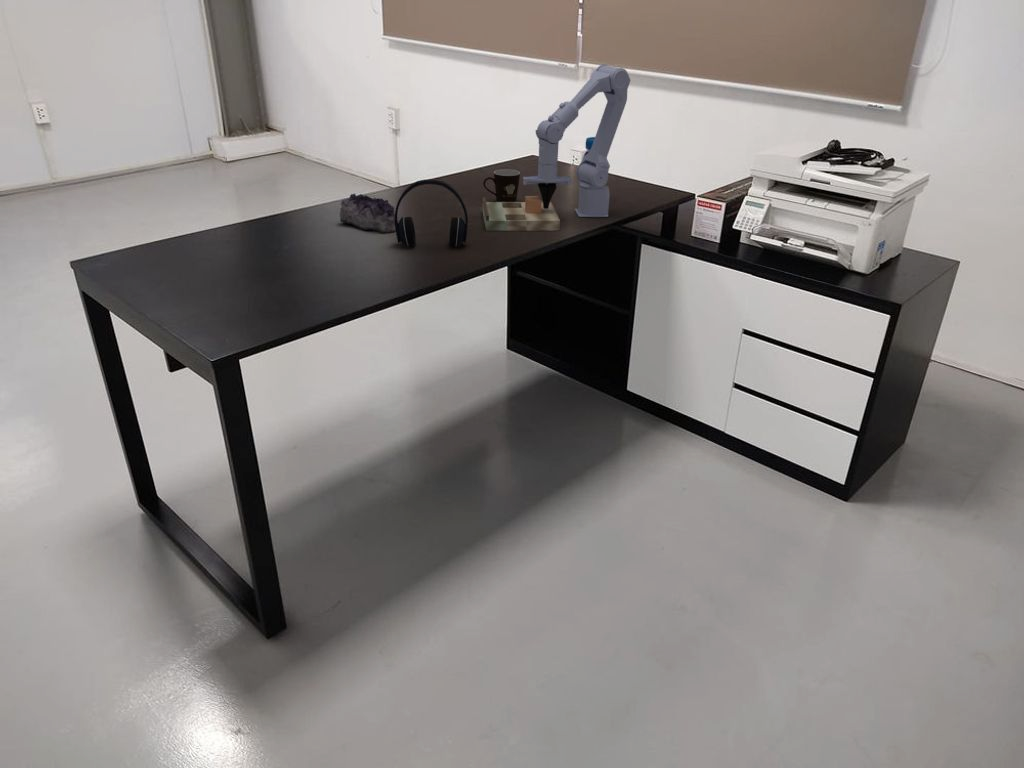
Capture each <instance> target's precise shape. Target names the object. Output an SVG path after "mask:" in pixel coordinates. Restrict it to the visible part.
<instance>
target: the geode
mask: <svg viewBox="0 0 1024 768" xmlns="http://www.w3.org/2000/svg"><path fill="white" fill-rule="evenodd" d="M340 206H341V207H340V208H339V209H340V211H339V219H340V222H341V223H344V224H349V225H353V226H354V227H357V228H358V229H361V230H362V231H378V232H380V233H381V234H383V235H386V234H393V233H396V230H395V207H394V206H392V205H391V203H389V200H388V199H385V200H384V199H383V198H381V197H380V198H376V197H373V198H372V197H370V196H368V195H366V194H365V195H364V194H362V193H360V194H358V195H356V193H351V194H350V196H349V198H344V199H343V200H341V202H340Z"/></svg>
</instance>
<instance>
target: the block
mask: <svg viewBox="0 0 1024 768" xmlns="http://www.w3.org/2000/svg"><path fill="white" fill-rule="evenodd" d="M524 197H525V199H524V200H525V201H524V202H525V210H526V213H541V205H542V202H543V200H542V197H541V196H540V195H531V196H530V195H527V196H526V195H525V196H524Z"/></svg>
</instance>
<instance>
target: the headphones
mask: <svg viewBox="0 0 1024 768" xmlns="http://www.w3.org/2000/svg"><path fill="white" fill-rule="evenodd" d="M423 185H436V186H440V187H443V188H445V189H447V190H448V191H450V192H451V193H452V194H453V195H454V196H455V197H456V198H457V199H458V201H459V203H460V204H461V207H462V209H463V212H464V213H463V214H464V218H462V217H458V216H457V217H455V216H454V217H453V216H452V217H451V218H450V227H449V228H450V229H449V237H448V242H449V243H448V245H449V246H451V247H456V248H457V247H459V248H460V247H461V245H462V244H463V243H467V235H468V224H469V219H468V218H469V217H468V212H467V211H468V210H467V208H466V205H465V203H464V200H463V199H462V197H461V195H460V194H459V192H458V191H457V190H456V189H455V188H454V187H453V186H451V184H449V183H447V182H445V181H443V180H439V179H431V178H430V179H429V178H428V179H421V180H416V181H415V182H413V183H411V184H410V185H409V186H407V187H406V189H404V191H402V193H401V195H400V196H399V199H398V200H397V203H396V206H395V207H396V208H395V209H394V214H395V230H396V232H395V233H396V234H395V235H396V241H397V243H401V244H402V245H403V246H404V247H413V246H415V245H416V243H417V236H416V232H415V231H416V230H415V225H414V220H413V217H412V216H405V217H404V216H402V217H400V219H399V220H398V213H399V208H400V207H399V206H400V204H401V202H402V200H403V198H405V196H406V195H407V194H409V192H410V191H411V190H414V188H415V189H416V187H419V186H423ZM463 219H465V221H464V220H463Z"/></svg>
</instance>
